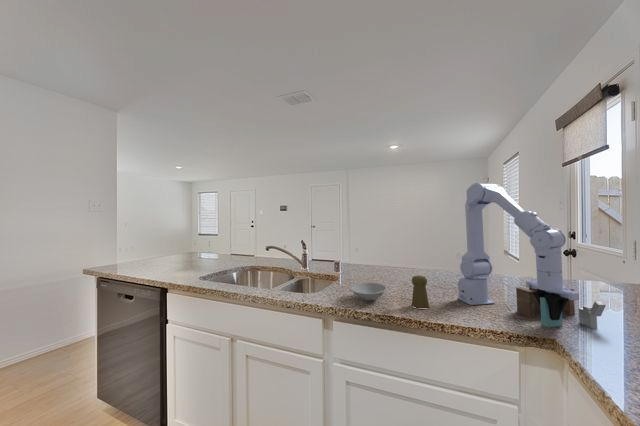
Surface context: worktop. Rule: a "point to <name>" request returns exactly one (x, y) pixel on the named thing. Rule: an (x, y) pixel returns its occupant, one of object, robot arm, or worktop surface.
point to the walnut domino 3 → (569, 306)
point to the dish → (368, 290)
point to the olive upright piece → (419, 292)
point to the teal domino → (548, 315)
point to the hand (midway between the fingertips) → (551, 318)
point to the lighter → (591, 314)
